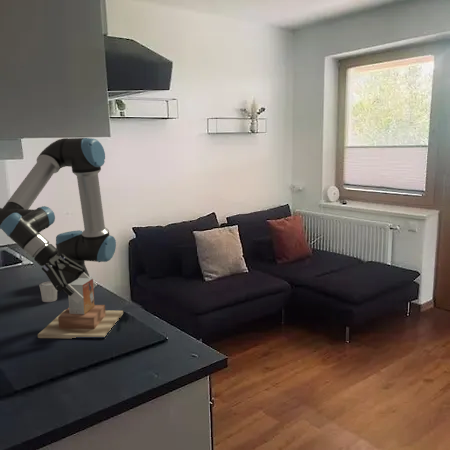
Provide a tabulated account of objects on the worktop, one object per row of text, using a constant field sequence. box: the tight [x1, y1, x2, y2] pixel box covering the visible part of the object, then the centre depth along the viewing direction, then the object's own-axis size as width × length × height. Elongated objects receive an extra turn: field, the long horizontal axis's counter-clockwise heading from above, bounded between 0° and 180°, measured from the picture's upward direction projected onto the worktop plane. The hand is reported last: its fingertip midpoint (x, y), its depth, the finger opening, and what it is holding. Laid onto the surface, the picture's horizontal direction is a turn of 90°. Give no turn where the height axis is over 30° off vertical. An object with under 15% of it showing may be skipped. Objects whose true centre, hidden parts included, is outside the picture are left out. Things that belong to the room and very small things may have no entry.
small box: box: [67, 277, 95, 315], centre depth 155 cm, size 8×6×10 cm
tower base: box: [37, 304, 124, 339], centre depth 156 cm, size 22×22×5 cm
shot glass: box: [39, 280, 58, 303], centre depth 182 cm, size 7×7×7 cm
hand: (88, 293), depth 154 cm, fingers open, 13 cm apart
